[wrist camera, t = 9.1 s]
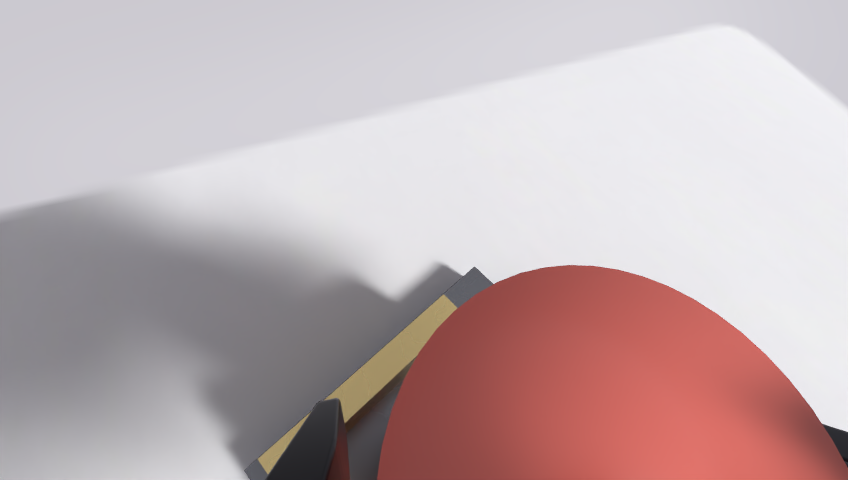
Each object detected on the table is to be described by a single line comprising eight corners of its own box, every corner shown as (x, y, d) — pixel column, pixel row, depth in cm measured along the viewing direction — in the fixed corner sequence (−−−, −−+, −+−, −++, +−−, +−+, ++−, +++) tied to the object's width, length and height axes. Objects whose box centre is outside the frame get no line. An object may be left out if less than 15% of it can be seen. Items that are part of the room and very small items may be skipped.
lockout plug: (502, 513, 14) (1035, 773, 3) (389, 545, 13) (443, 1095, 2) (472, 394, 16) (710, 240, 4) (371, 417, 15) (344, 300, 4)
